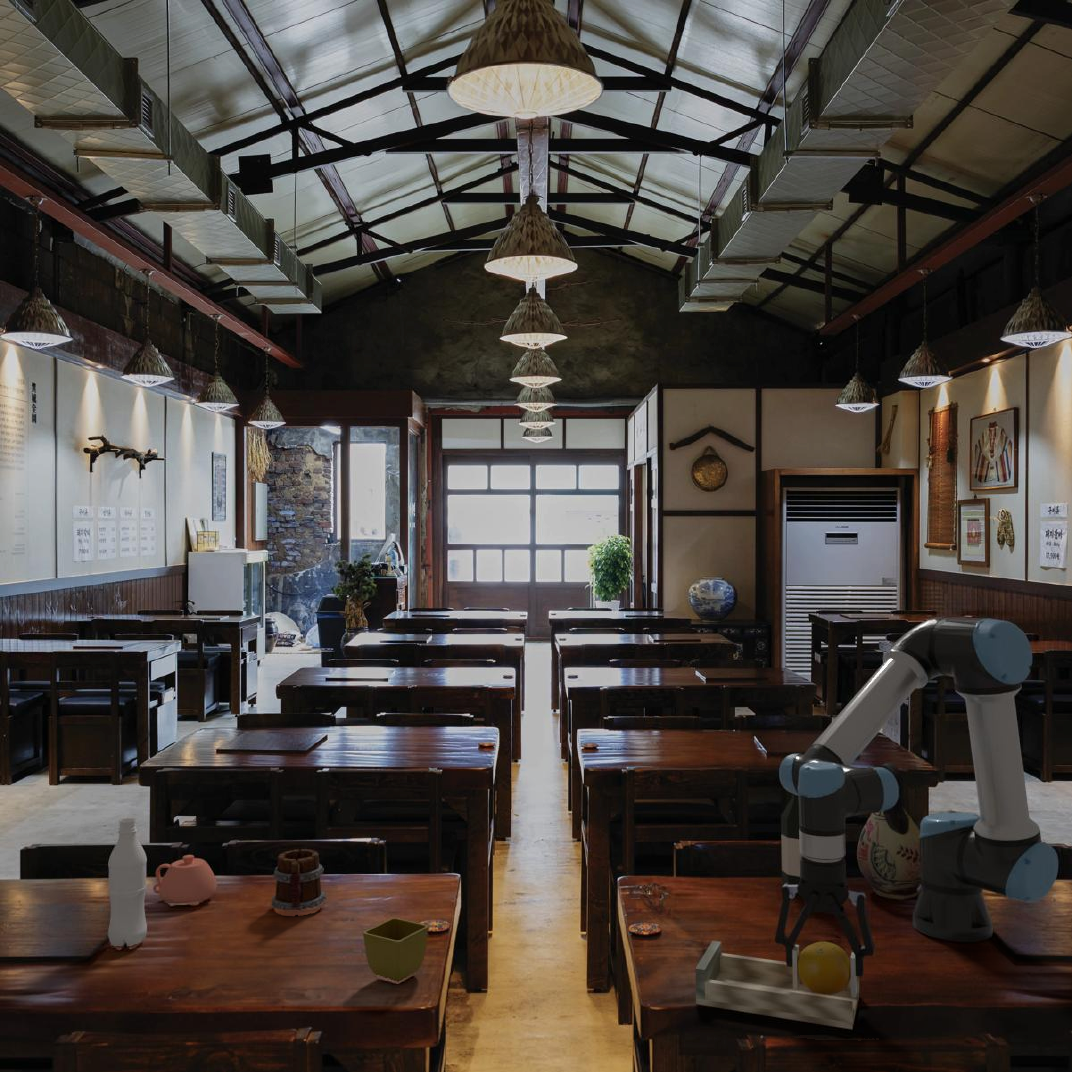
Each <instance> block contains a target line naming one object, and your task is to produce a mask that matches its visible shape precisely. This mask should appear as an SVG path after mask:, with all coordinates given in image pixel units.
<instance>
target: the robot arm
mask: <svg viewBox="0 0 1072 1072" xmlns="http://www.w3.org/2000/svg"><path fill="white" fill-rule="evenodd" d="M1031 647H1032V646H1031V644H1030V641H1029V639H1028V637H1027V635H1026V633H1024V631H1023V630H1022V629H1021V628H1020V627H1018V626H1017V624H1015V623H1013V622H1010V621H1009V620H1008V621H1007V620H1003V619H1002V620H1001V619H996V618H991V617H988V618H986V617H985V618H984V617H959V616H957V617H956V616H955V617H953V616H937V617H933V618H930V619H928V620H925V621H923V622H921V623H919V624H917V625H916V626H914V627H913V628H911V629H909V631H907V632H906V633H905V634H902V636H901V637H900V638H899V639H897V640H896V641H895V642H894V643H893V644H892V645H891V646H890V647H889V648H888V649H887V651H886V652H885V653H884V654H883V657H882V661H883V662H882V664H881V666H880V667H879V668H878V669H877V670H876V671H875V672H874V673H873V675H872V676H871V677H870V678H869V679H868V680H867V682H865V684H864V685H863V686H862V687H861V688H860V690H858V691H857V693H856V694H855V695H854V697H853V698H852V699H851V700H850V701H849V702H848V703H847V704H846V706H845V707H844V708H843V709H842V710H841V711H840V713H839V714H838V715H837V716H836V717H835V718H834V719H833V720H832V722H831V723H830V724H829V725H828V726H827V728H826V729H824V731H823V732H822V733H821V734H820V735H819V737H817V739H815V741H814V742H813V743H812V744H811V746H810V747H809V748H808V749H807V750H806V751H805V753H804V754H803V753H791V754H789V755H786V757H784V758H783V760H782V761H781V764H780V766H779V770H778V773H779V774H778V775H779V781H780V784H781V786H782V787H783V788H784V789H785V790H786V791H787V792H789V793H791V794H792V793H793V794H796V795H798V796H799V824H800V825H799V826H800V829H799V841H800V853H801V854H802V855H801V857H800V882H799V884H798V885H790V884H789V883H785V884H784V885H783V887H782V886H781V897H782V903H781V908H780V913H779V917H778V922H777V927H776V931H775V936H774V942H775V943H777V944H781V945H782V946H784V947H785V962H786V964H787V966H788V967H793V989H798V986H799V984H800V976H799V974H798V967H797V964H798V958H799V955H800V945H799V944H795V943H796V941H797V940H798V937H799V935H800V933H801V931H802V929H803V927H804V926H805V924H806V921H807V920H808V917H809V916H810V914H811V913H812V911H813V913H826V914H827V915H832V914H833V915H834V918H835V919H836V921H837V923H838V924H839V926H840V928H841V929H842V931H843V932H842V933H843V934H844V936H845V939H846V940H847V942H848V944H849V946H850V948H851V950H852V951H851V954H850V957H849V959H850V964H851V997H852V998H856V995H857V976H859V978H860V977H861V978H862V977H863V975H864V972H865V971H864V969H865V968H864V967H865V966H864V963H865V962H864V958H865V957H867V956H869V957H871V956H873V955H874V953H875V949H876V948H875V942H874V938H873V936H872V935H873V934H872V930H871V927H870V921H869V918H868V913H867V908H866V906H865V905H866V899H867V898H866V897H867V893H866V892H865V891H863V890H860V891H859V892H857V891H852V890H850V889H849V887H848V885H847V864H846V863H847V861H846V858H845V856H846V854H847V853H846V849H847V848H846V818H851V817H856V816H857V817H858V816H862V815H868V814H870V815H871V814H872V813H879V812H881V811H884V810H887V809H890V808H892V807H893V806H894V805H895V804H896V802H897V800H898V797H899V787H898V783H897V781H896V779H895V777H894V776H893V774H892V773H891V772H890V771H888V770H887V769H885V768H882V766H881V767H880V766H878V767H875V768H873V767H874V766H869V767H867V768H859V767H855V766H852V764H853V763H854V761H855V760H856V759H857V758H858V757H859V756H860V754H862V752H863V751H864V750H865V749H866V748H867V746H868V745H869V744H870V743H871V741H872V740H873V739H874V738H875V737H876V736H877V734H878V733H879V732H880V731H881V730H882V729H883V728H884V726H885V725H886V724H887V722H889V720H890V719H891V718H892V717H893V715H894V714H896V712H897V711H898V710H899V709H900V707H902V706H903V703H905V701H906V700H907V699H908V698H909V697H910V695H912V693H913V692H914V691H915V690H916V689H922V688H924V687H925V686H926V685H927V684H928V683H929V682H930V680H932V679H934V678H937V677H940V676H944V677H952V678H953V682H954V689H955V692H956V693H957V694H958V695H960V697H962V698H963V699H964V700H965V708H966V716H967V717H966V718H967V722H968V723H967V724H968V731H969V732H968V733H969V740H970V748H971V754H972V755H971V756H972V762H973V770H974V771H973V772H974V778H975V785H976V792H977V800H978V802H977V803H978V809H979V815H980V816H979V815H977V814H973V813H964V812H945V813H944V812H942V813H934V814H929V815H926V816H924V817H923V818H922V820H921V821H920V824H919V825H920V828H919V831H920V835H919V838H920V865H921V885H920V890H919V891H918V892H919V893H918V894H917V899H916V902H915V905H914V908H913V911H912V926H913V928H914V929H915V930H917V931H918V932H919V933H921V934H924V935H926V936H928V937H931V938H935V939H938V940H943V941H949V942H956V943H978V942H982V941H986V940H989V939H991V938H992V936H993V935H994V934H993V933H994V929H993V926H994V925H993V923H994V922H993V920H992V917H991V914H990V912H989V908H988V905H987V902H986V900H985V898H984V894H983V891H988V892H991V893H993V894H997V895H1000V896H1003V897H1006V898H1008V899H1010V900H1012V901H1020V902H1024V903H1027V904H1033V903H1037V902H1039V901H1041V900H1042V899H1043V898H1045V897H1046V896H1047V895H1048V894H1049V893H1050V891H1051V890H1052V887H1053V885H1054V884H1055V882H1056V879H1057V875H1058V871H1059V858H1058V854H1057V852H1056V850H1055V849H1054V848H1053V846H1051V844H1049V843H1047V842H1045V841H1042V837H1041V836H1042V835H1041V828H1040V825H1039V824H1038V823H1037V822H1036V821H1034V820H1033V819H1032V818H1030V812H1029V803H1028V796H1027V786H1026V780H1025V774H1024V773H1025V772H1024V764H1023V758H1022V757H1023V756H1022V749H1021V743H1020V735H1019V734H1020V733H1019V732H1020V731H1019V726H1018V720H1017V710H1016V703H1015V696H1016V695H1017V694H1018V693H1019V691H1020V690H1022V687H1023V686H1022V682H1024V681H1025V680H1026V679H1027V678H1028V676H1029V674H1030V672H1031V669H1030V667H1032V664H1033V651H1032V648H1031ZM797 892H798V893H799V894H800V895H799V896H800V897H801V898H802V900H803V901H804V903H805V904H804V906H803V907H802V910H801V912H800V914H799V916H798V918H797V920H796V922H795V924H794V926H793V928H792V930H791V931H790V933H789V935H786V928H787V923H788V919H789V915H790V909H791V904H792V899H794V898H795V897H796V893H797ZM848 899H850V900H851V904H852V905H853V906H854V907H855V910H856V916H857V919H858V925H859V928H860V932H861V937H862V941H863V944H864V945H862V944H861V941H860V939H859V937H858V935H857V933H856V930H855V929H854V927H853V925H852V923H851V920H850V919H849V916H848V915H847V913H846V909H845V908H844V903H845V902H846V901H847V900H848ZM992 934H993V935H992Z"/></svg>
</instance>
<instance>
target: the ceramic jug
mask: <svg viewBox="0 0 1072 1072" xmlns="http://www.w3.org/2000/svg"><path fill="white" fill-rule="evenodd" d="M872 767H873V768H875V767H879V766H878V765H874V766H872ZM881 767H882V768H885V769H887V770H888V771H890V772H891V773H892V774H893V776H894V777H895V779H896V781H897V783H898V787H899V797H898V800H897V802H896V804H895V805H894V806H893V807H892V808H890V809H887V810H884V811H881V812H879V813H870V816H869V818H868V819H867V821H866V823H865V824H864V826H863V828H862V830H861V832H860V835H859V840H858V842H857V843H858V844H857V850H856V856H857V857H856V859H857V864H858V867H859V870H860V873H861V874H862V875H863V876H864V878H865V879H866V881H868V883H869V885H870V886H871V888H872V889H873V892H874V893H875V894H876V895H878V896H880V897H883V898H887V899H893V900H899V901H901V900H905V899H906V900H907V899H910V898H914V897H916V896H918V889H919V887H921V865H920V838H919V835H920V828H918V826H917V825H916V824H915V822H914V820H913V819H912V817H911V816H910V815H909V814H908V812H907V810H906V809H905V808H904V807H903V784H902V783H903V781H902V775H901V771H900V770H899V769H900V768H898V766H896V764H894V763H891V762H885V763H884V764H882V765H881Z"/></svg>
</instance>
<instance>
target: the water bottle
mask: <svg viewBox="0 0 1072 1072" xmlns="http://www.w3.org/2000/svg"><path fill="white" fill-rule="evenodd" d="M137 832H138V828H137V826H136V818H134V817H128V818H122V819H120V820H119V827H118V832H117V834H119V835H118V839H117V842H116V843H115V846H114V848H113V849H112V851H111V854H110V856H109V859H108V863H107V864H108V865H107V866H108V894H109V900H110V901H109V902H110V918H109V919H110V920H109V926H108V930H107V936H108V940H109V944H110V945H111V946H112V945H113V946H123V945H124V944H125V943H126V944H125V945H126V946H127V947H128V946H132V945H134V944H138V943H140V942H141V941H142V940H144V939H145V940H146V937H147V933H148V925H147V920H146V919H147V918H146V913H145V912H146V911H145V895H146V891H147V862H148V859H147V854H146V851H145V850H144V848H143V846H142V844H141V843H140V841H139V839H138V836H137ZM145 940H144V941H145ZM125 945H124V946H125Z"/></svg>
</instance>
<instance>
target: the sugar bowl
mask: <svg viewBox="0 0 1072 1072" xmlns="http://www.w3.org/2000/svg"><path fill="white" fill-rule="evenodd" d="M163 868H166V869H167V870H166V872H165V873H164V876H163V877H161V870H162V869H163ZM155 877H156V881H157V883H155V884H154V885H153V888H152V889H153V892H154V893H156V894H159V897H160V899H161V901H163V900H164V901H166V902H169V903H189V902H195V901H199V900H203V899H207V898H209V897H211V896H212V895H215V893H216V891H217V889H218V885H217V884H218V882H217V879H216V876H215V874H214V871H213V870H212V868H211V867H210V865H209V863H208V862H207V861H206V860H205V859H202V858H198V857H197V858H196V857H195V856H194V855H193V854H187V855H183V856H182V859H179V860H176V861H174V862H172V863H171V864H169V863H163V864H161V865H159V866H158V867H157V868H156V871H155ZM157 887H158V888H157ZM212 897H213V896H212ZM212 897H211V898H212ZM164 901H163V902H164Z"/></svg>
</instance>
